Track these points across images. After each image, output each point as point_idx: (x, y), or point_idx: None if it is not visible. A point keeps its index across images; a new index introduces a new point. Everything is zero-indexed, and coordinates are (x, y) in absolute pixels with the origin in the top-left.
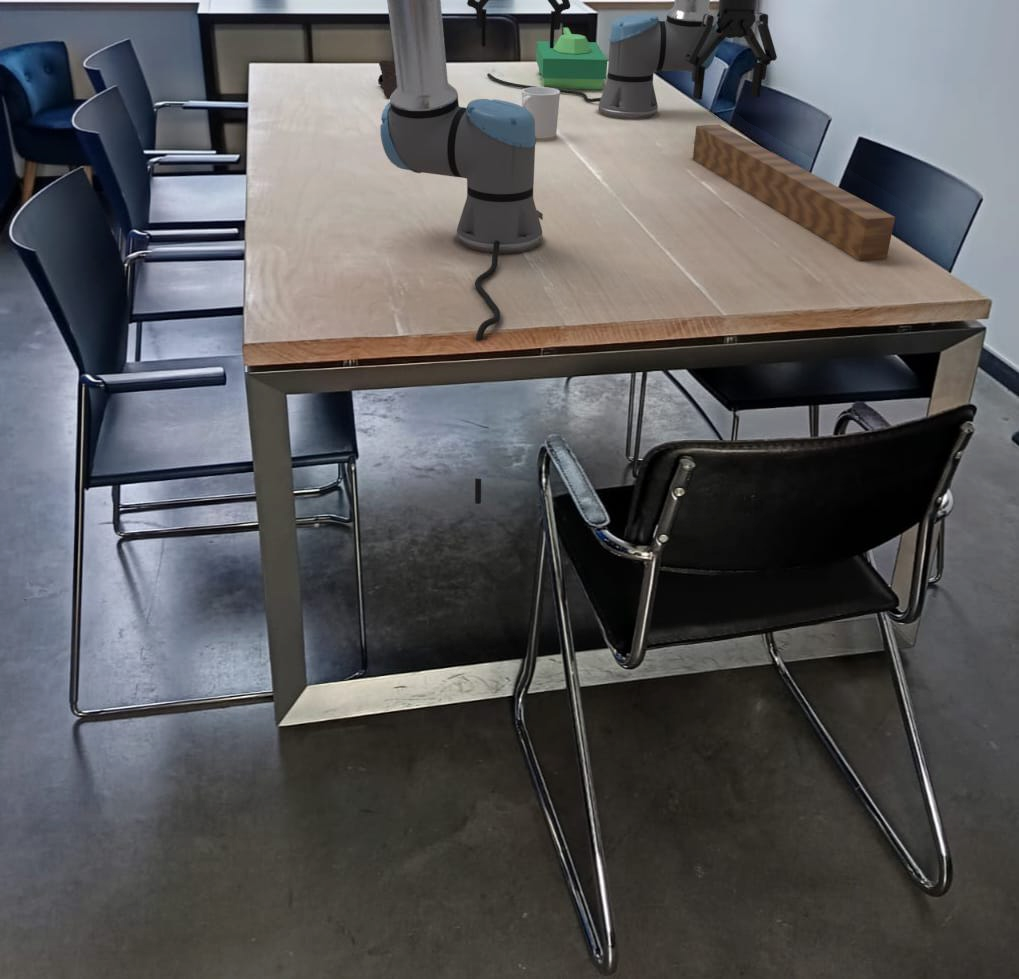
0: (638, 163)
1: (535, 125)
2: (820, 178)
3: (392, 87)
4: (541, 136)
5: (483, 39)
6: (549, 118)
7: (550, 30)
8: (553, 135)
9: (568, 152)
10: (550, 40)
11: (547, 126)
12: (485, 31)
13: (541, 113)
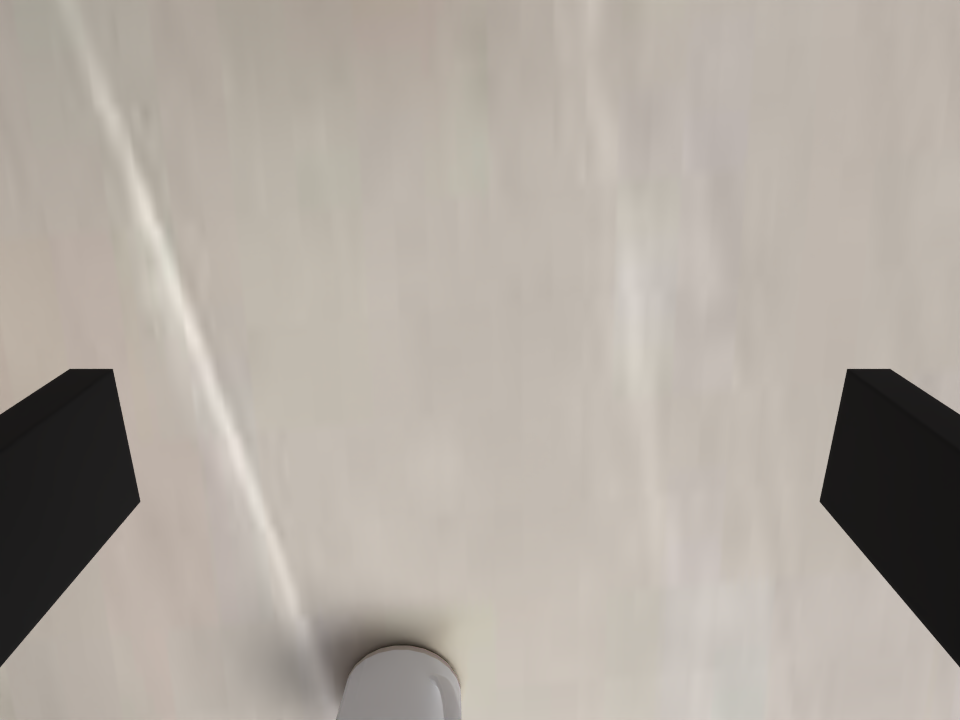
0: None
1: (412, 682)
2: None
3: None
4: (393, 653)
5: (913, 401)
6: (357, 708)
7: (6, 512)
8: (352, 672)
9: (291, 525)
10: (61, 404)
11: (368, 684)
12: (951, 444)
13: (385, 717)
